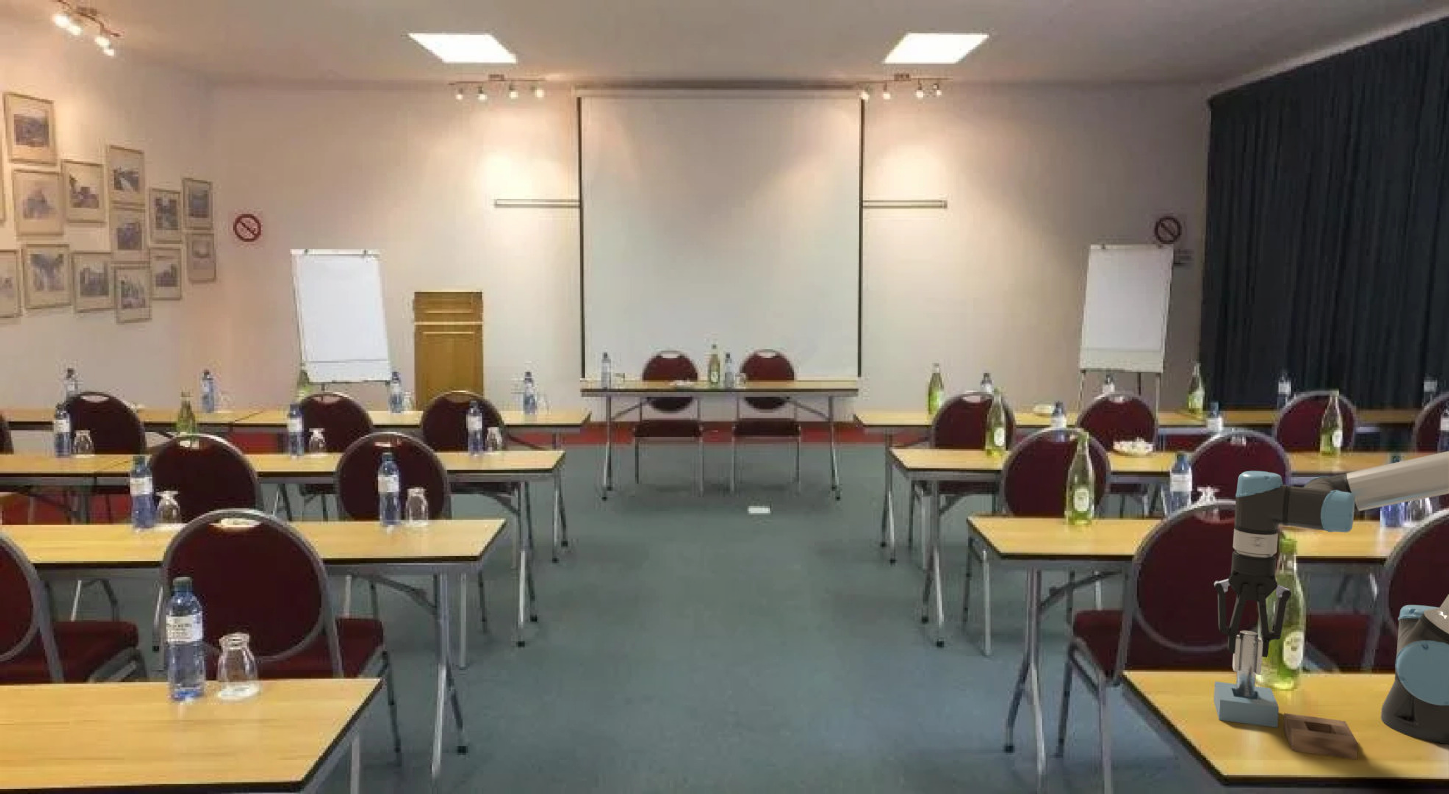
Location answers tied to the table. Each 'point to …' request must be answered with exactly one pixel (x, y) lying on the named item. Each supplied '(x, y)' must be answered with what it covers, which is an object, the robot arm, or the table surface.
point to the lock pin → (1247, 663)
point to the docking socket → (1246, 705)
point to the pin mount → (1320, 736)
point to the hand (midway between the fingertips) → (1246, 670)
